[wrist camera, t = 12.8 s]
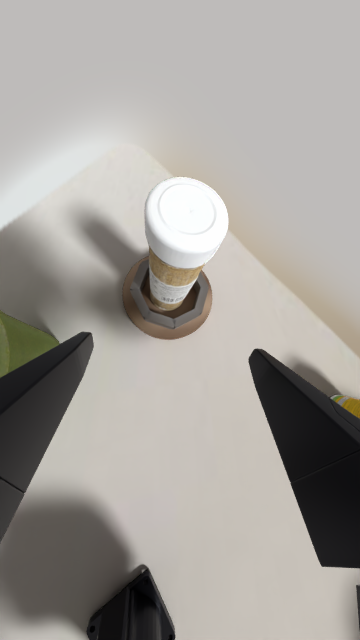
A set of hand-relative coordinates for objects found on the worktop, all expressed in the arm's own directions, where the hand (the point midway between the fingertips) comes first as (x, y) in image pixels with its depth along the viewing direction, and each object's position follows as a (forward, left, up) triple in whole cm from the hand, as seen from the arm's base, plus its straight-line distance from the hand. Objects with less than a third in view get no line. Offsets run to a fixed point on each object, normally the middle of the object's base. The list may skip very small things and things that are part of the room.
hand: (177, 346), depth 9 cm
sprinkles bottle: (+6, -3, -12) cm, 14 cm away
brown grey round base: (+6, -4, -13) cm, 15 cm away
